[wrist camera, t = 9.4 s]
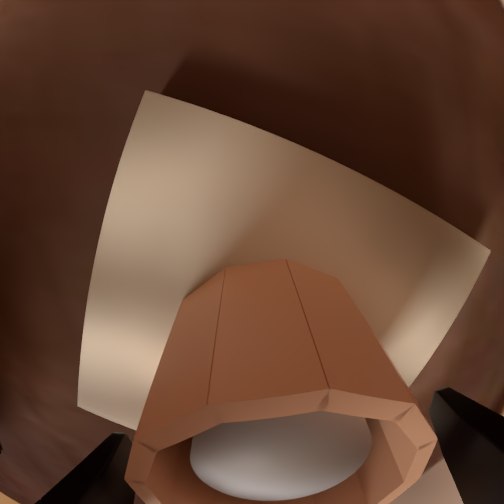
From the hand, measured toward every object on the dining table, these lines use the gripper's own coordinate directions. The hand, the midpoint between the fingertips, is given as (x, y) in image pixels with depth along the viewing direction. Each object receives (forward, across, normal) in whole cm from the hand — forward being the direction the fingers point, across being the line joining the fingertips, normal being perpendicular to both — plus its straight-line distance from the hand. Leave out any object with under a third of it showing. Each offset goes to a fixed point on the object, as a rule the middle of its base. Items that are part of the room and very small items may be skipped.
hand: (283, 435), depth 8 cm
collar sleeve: (+4, 0, 0) cm, 4 cm away
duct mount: (+6, 0, 0) cm, 6 cm away
